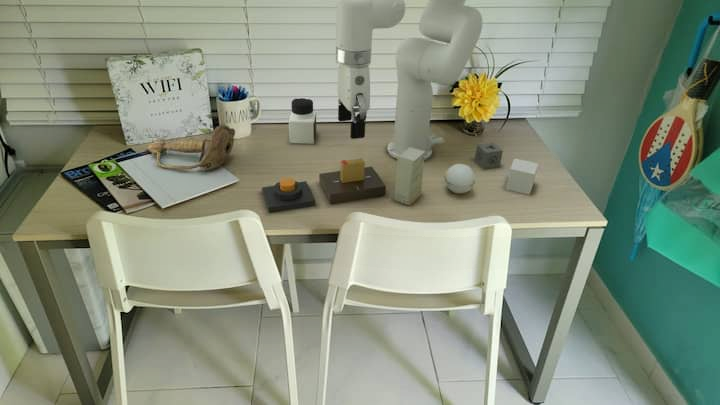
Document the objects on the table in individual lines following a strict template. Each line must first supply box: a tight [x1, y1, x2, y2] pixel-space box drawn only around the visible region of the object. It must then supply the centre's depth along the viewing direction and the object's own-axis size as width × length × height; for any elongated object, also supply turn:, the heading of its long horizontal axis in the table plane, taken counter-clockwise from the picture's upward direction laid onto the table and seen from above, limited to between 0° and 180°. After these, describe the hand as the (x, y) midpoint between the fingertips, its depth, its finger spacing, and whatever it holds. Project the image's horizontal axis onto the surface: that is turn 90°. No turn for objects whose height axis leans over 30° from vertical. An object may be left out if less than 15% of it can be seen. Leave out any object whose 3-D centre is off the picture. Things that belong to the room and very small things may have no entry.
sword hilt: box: [144, 124, 236, 172], centre depth 135 cm, size 10×24×15 cm
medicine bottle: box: [288, 96, 317, 145], centre depth 147 cm, size 7×7×12 cm
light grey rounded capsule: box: [444, 163, 476, 194], centre depth 125 cm, size 10×7×7 cm
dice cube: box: [474, 141, 503, 170], centre depth 139 cm, size 5×5×5 cm
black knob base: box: [261, 180, 316, 214], centre depth 122 cm, size 11×9×4 cm
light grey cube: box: [505, 158, 539, 196], centre depth 130 cm, size 6×6×6 cm
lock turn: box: [339, 158, 366, 183], centre depth 124 cm, size 6×2×5 cm, turn 109°
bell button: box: [279, 177, 296, 192], centre depth 120 cm, size 4×4×2 cm
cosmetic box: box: [393, 147, 425, 206], centre depth 122 cm, size 6×4×12 cm
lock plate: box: [318, 166, 387, 205], centre depth 126 cm, size 14×10×3 cm
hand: (350, 128), depth 119 cm, fingers open, 9 cm apart
